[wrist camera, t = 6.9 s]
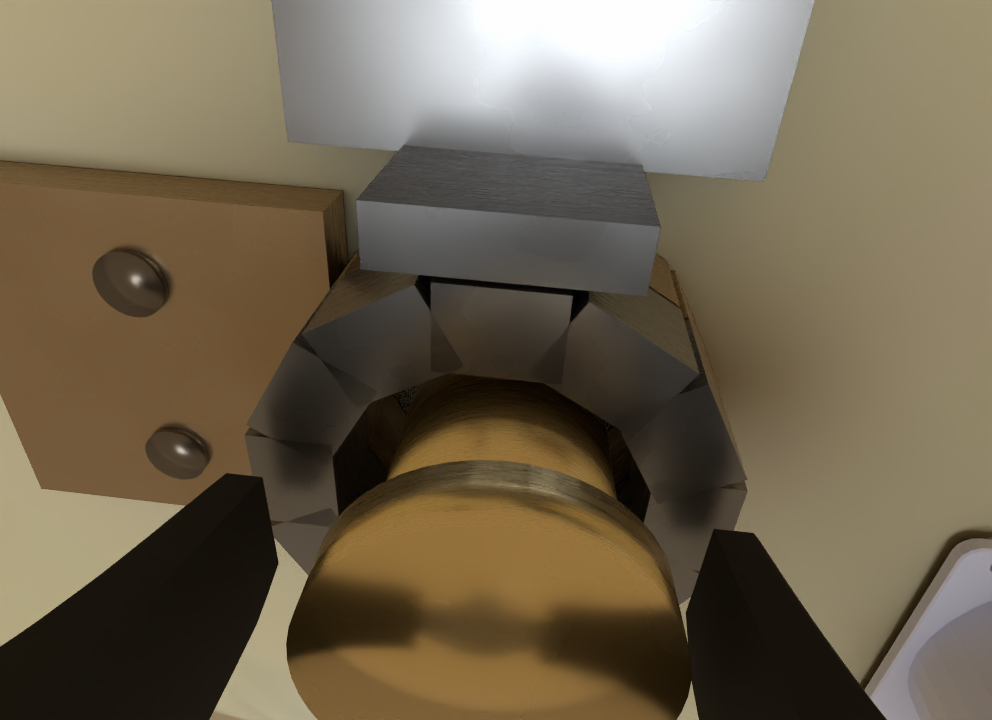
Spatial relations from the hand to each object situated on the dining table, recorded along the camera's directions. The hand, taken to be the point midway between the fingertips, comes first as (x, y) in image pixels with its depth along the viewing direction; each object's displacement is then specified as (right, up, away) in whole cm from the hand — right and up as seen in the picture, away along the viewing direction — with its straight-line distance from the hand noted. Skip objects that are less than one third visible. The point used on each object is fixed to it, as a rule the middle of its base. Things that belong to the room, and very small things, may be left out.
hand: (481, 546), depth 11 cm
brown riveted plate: (-3, +3, +4) cm, 6 cm away
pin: (+1, +2, +4) cm, 5 cm away
